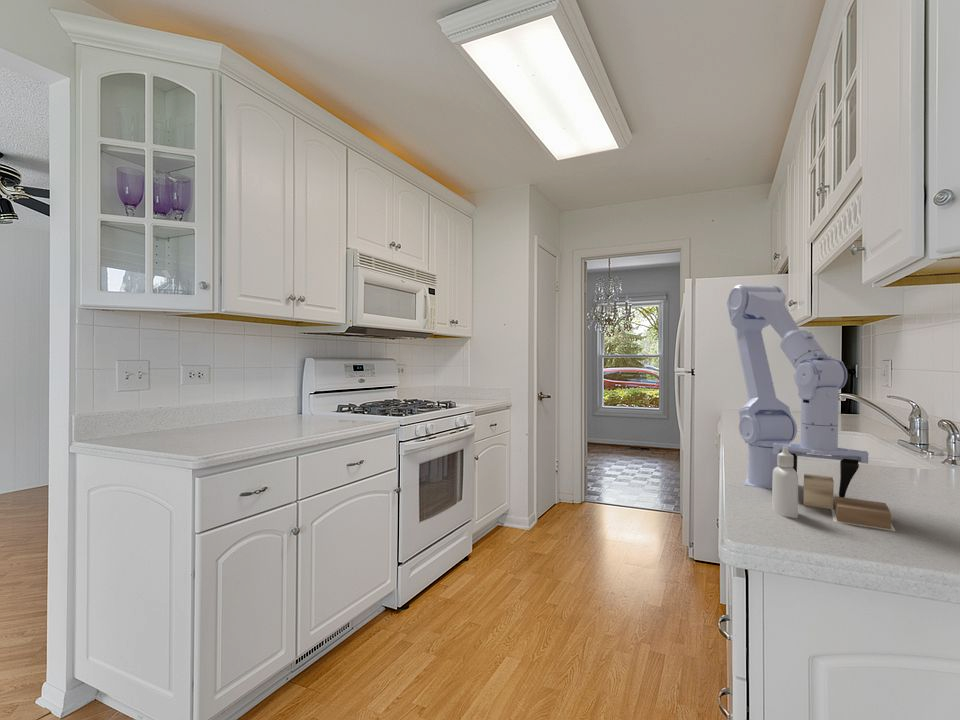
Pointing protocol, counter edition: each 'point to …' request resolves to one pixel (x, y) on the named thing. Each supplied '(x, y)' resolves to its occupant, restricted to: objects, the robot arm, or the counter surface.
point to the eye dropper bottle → (785, 486)
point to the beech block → (818, 491)
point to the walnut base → (862, 512)
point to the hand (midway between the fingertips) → (818, 496)
